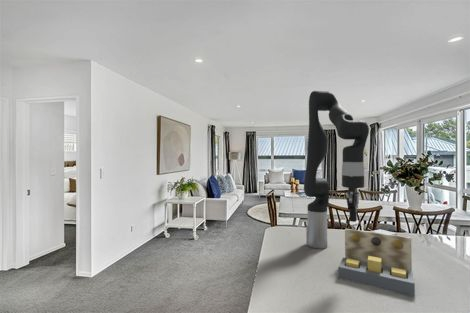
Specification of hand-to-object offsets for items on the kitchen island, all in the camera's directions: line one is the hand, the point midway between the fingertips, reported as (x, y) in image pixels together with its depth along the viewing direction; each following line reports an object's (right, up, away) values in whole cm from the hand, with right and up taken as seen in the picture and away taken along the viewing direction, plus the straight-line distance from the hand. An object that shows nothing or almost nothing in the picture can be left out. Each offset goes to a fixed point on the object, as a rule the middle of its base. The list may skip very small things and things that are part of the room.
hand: (353, 221), depth 90 cm
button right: (+11, -19, -9) cm, 24 cm away
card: (+11, -20, +5) cm, 23 cm away
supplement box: (+17, -20, +10) cm, 28 cm away
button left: (-1, -19, -1) cm, 19 cm away
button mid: (+5, -17, -5) cm, 18 cm away
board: (+5, -19, -5) cm, 21 cm away
